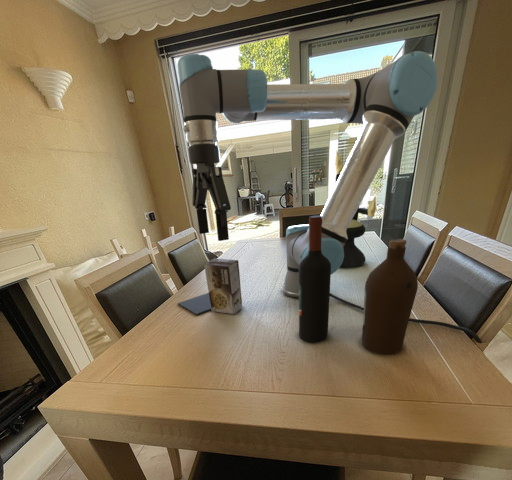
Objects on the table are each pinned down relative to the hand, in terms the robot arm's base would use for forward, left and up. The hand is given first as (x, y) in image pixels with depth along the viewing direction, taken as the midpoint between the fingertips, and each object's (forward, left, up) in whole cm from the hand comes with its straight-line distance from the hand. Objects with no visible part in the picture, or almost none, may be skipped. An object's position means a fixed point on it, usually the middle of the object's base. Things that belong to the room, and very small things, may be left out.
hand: (213, 236), depth 81 cm
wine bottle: (-28, -10, -25) cm, 39 cm away
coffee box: (+5, -4, -25) cm, 26 cm away
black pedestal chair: (+7, -71, -25) cm, 75 cm away
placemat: (+16, -3, -25) cm, 30 cm away
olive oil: (-43, -18, -25) cm, 53 cm away
